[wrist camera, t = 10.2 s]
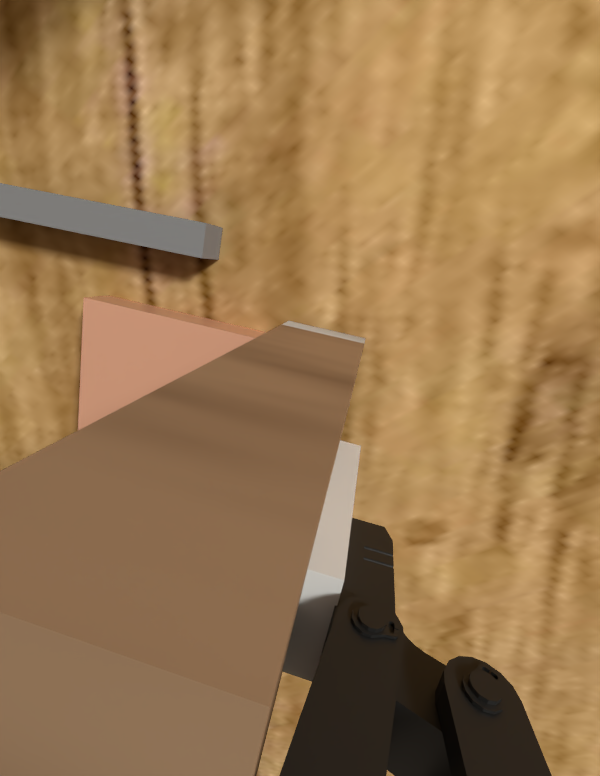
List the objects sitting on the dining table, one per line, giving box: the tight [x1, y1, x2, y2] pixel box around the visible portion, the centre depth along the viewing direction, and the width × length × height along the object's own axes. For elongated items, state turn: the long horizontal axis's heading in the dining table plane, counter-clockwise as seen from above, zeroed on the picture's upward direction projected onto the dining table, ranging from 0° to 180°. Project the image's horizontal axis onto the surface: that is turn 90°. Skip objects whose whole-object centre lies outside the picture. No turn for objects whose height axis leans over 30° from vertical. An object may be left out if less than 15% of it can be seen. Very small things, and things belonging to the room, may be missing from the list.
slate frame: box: [0, 183, 222, 260], centre depth 18 cm, size 15×13×2 cm
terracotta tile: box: [78, 296, 266, 430], centre depth 18 cm, size 8×8×2 cm
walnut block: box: [0, 321, 366, 776], centre depth 11 cm, size 9×3×14 cm, turn 169°
